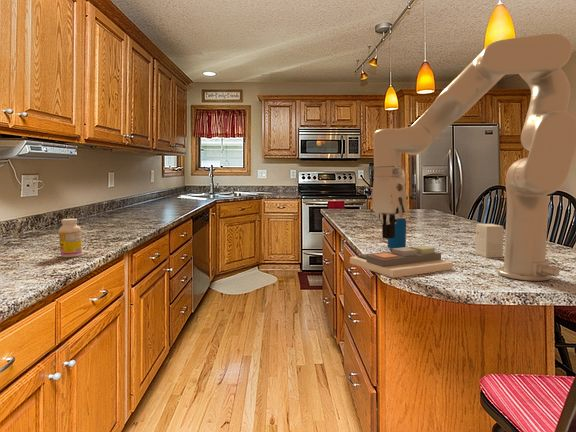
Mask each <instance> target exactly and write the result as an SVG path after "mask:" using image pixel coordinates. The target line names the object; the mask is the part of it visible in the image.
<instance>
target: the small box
mask: <svg viewBox="0 0 576 432" xmlns="http://www.w3.org/2000/svg"><path fill="white" fill-rule="evenodd" d="M475 226H476V227H475V254H476V255H479V256H482V257H484V258H486V259H487V258H488V259H489V258H490V259H491V258H503V257H504V253H503V251H504V230H505V229H504V228H505V227H504V225H499V224H496V223H495V224H494V223H476V225H475Z"/></svg>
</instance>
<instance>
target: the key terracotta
mask: <svg viewBox="0 0 576 432" xmlns="http://www.w3.org/2000/svg"><path fill="white" fill-rule="evenodd" d="M373 256H375V257H378V258H382V259H389V258H397V257H398V256H397V255H393V254H389V253H382V254H373Z"/></svg>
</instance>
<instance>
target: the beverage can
mask: <svg viewBox="0 0 576 432" xmlns="http://www.w3.org/2000/svg"><path fill="white" fill-rule="evenodd" d="M406 238H407V219H406V217H405V216H403V218H400V219H398V220H397V221H396V224H395V238H389V239H387V248H388V249H389V250H390V251H392V249H393V248H402V247H406V246H407V239H406ZM406 248H407V247H406Z"/></svg>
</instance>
